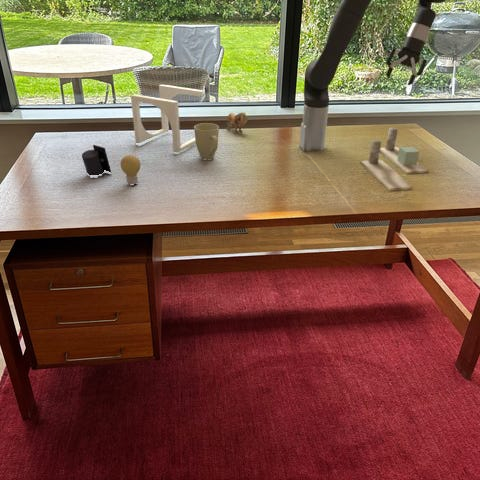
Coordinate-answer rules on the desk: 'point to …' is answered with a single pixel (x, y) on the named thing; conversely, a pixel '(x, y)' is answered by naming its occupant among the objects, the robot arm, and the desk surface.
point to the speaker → (96, 160)
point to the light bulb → (131, 168)
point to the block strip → (393, 152)
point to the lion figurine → (237, 120)
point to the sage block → (408, 156)
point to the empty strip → (384, 170)
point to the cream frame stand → (163, 114)
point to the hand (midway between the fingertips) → (398, 81)
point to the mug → (206, 139)
